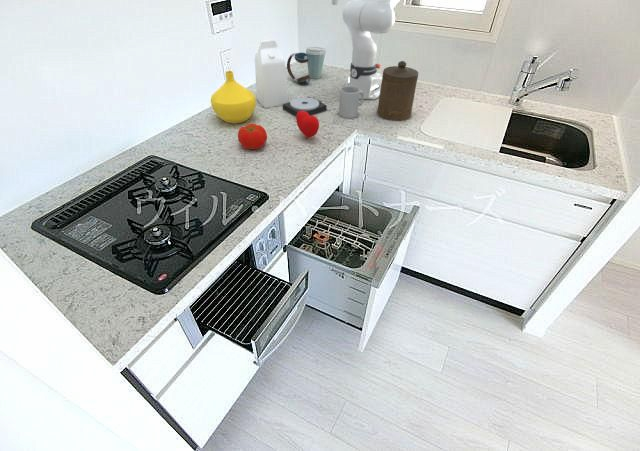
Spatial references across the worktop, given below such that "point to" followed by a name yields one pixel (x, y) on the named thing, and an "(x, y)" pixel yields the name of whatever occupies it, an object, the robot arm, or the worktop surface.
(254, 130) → the tomato
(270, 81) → the milk
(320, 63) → the disposable coffee cup
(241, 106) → the vase
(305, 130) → the heart
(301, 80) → the headphones
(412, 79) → the wooden container
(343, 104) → the mug
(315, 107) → the scale
